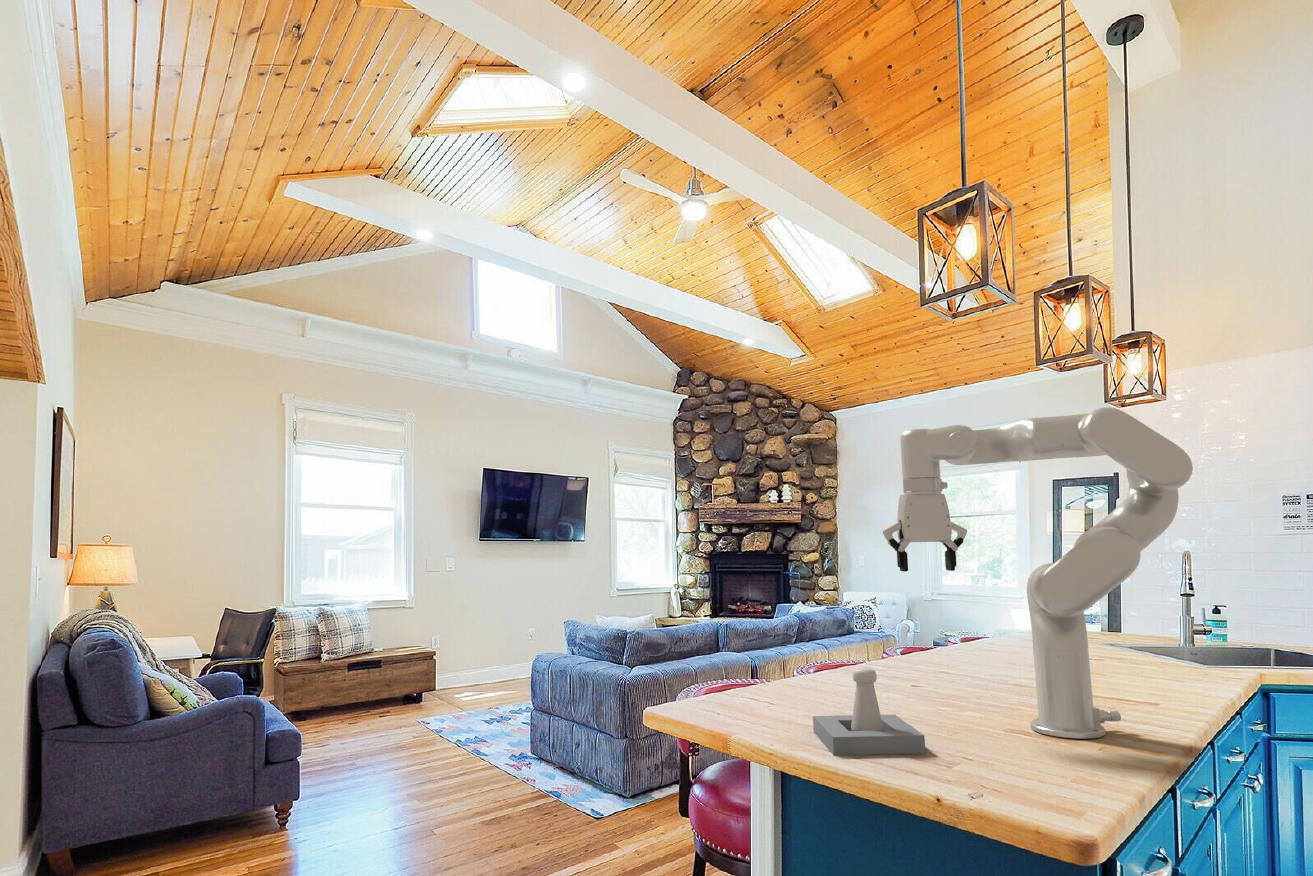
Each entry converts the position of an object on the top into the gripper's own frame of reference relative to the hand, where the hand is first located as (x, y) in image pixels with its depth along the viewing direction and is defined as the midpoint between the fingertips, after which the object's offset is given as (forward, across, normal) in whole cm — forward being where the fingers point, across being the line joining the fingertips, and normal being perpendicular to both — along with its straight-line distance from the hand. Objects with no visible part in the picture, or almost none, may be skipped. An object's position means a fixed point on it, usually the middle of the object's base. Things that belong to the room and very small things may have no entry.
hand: (927, 570), depth 156 cm
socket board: (+30, +18, +13) cm, 38 cm away
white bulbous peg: (+30, +18, +13) cm, 38 cm away
